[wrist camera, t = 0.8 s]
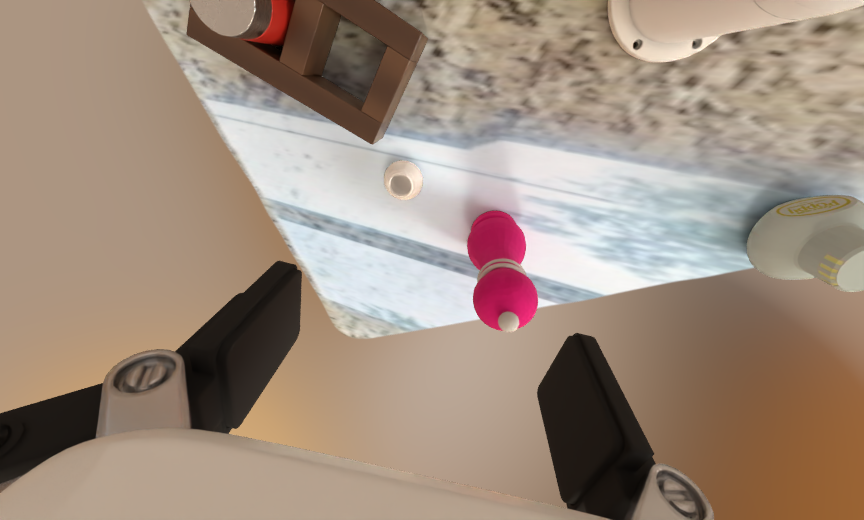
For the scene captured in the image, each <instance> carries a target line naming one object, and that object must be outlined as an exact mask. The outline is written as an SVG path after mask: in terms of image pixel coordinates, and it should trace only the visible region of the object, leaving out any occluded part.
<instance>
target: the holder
mask: <svg viewBox="0 0 864 520" xmlns="http://www.w3.org/2000/svg"><path fill="white" fill-rule="evenodd" d="M190 7H191V8H190V10H189V18H188V26H187V35H188V36H190V37H191V38H193V39H195V40H196V41H198V42H200V43H201V44H203V45H205V46H206V47H208V48H210V49H212V50H213V51H215V52H217V53H218V54H220V55H222V56H223V57H225V58H227V59H228V60H230V61H232V62H233V63H235V64H237V65H239V66H240V67H242V68H244V69H245V70H247V71H249V72H250V73H252V74H254V75H255V76H257V77H259V78H260V79H262V80H264V81H266V82H267V83H269V84H271V85H272V86H274V87H276V88H277V89H279V90H281V91H282V92H284V93H286V94H287V95H289V96H291V97H293V98H294V99H296V100H298V101H299V102H301V103H303V104H304V105H306V106H308V107H309V108H311V109H313V110H314V111H316V112H318V113H319V114H321V115H323V116H325V117H326V118H328V119H330V120H331V121H333V122H335V123H336V124H338V125H340V126H341V127H343V128H345V129H346V130H348V131H350V132H352V133H353V134H355V135H357V136H358V137H360V138H362V139H363V140H365V141H367V142H368V143H370V144H372V145H373V144H374V143H376V142H377V141H379V140H380V139H382V138H383V136H384V134H385V132H386V130H387V128H388V125H389V123H390V121H391V119H392V117H393V115H394V112H395V110H396V108H397V106H398V104H399V101H400V99H401V97H402V95H403V93H404V91H405V88H406V86H407V84H408V82H409V80H410V78H411V75H412V73H413V71H414V69H415V67H416V64H417V62H418V60H419V58H420V56H421V54H422V51H423V49H424V47H425V45H426V43H427V41H428V38H427V37H426V36H425V35H424V34H423V33H422V32H420V31H419V30H417V29H416V28H414V27H413V26H411V25H410V24H408V23H407V22H406V21H404V20H403V19H401V18H400V17H398V16H397V15H395V14H394V13H392V12H391V11H389V10H388V9H386V8H385V7H383V6H382V5H380V4H379V3H377V2H376V1H374V0H295V4H294V8H293V11H292V15H291V19H290V23H289V27H288V30H287V34H286V38H285V42H284V46H283V49H282V51H280V50H278V49H277V48H275V47H273V46H272V45H269V44H264V43H258V42H253V41H247V40H242V39H239V38H234V37H228V36H224V35H221V34H218V33H216V32H214V31H213V30H211V29H210V28H209V27H208V26H206V25H205V24H204V23H203V22H202V21H201V19H200V18H199V17H198V16H197V14H196V13H195V11H194V9H193V7H192V6H191V3H190ZM341 15H342V16H343V17H345V18H346V19H348V20H349V21H351V22H352V23H354V24H356V25H357V26H359V27H360V28H362V29H363V30H365V31H366V32H368V33H369V34H371V35H372V36H374V37H375V38H377V39H378V40H380V41H381V42H383V43H385V44H386V45H388V46H387V48H386V51H385V53H384V55H383V58H382V60H381V63H380V65H379V68H378V70H377V73H376V75H375V78H374V80H373V82H372V85H371V87H370V90H369V92H368V95H367V97H366V100H365V102H363V101H361V100H360V99H358V98H356V97H355V96H353V95H351V94H350V93H348V92H347V91H345V90H343V89H342V88H340V87H338V86H337V85H335V84H334V83H332V82H330V81H329V80H327V79H325V78H324V77H322V73H323V70H324V67H325V64H326V61H327V58H328V54H329V51H330V48H331V45H332V42H333V39H334V36H335V33H336V30H337V27H338V24H339V21H340V18H341Z"/></svg>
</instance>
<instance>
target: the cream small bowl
mask: <svg viewBox="0 0 864 520" xmlns="http://www.w3.org/2000/svg"><path fill="white" fill-rule="evenodd" d="M384 184H385V187H386V189H387V191H388V192H389V193H390V194H391V195H392V196H393V197H395V198H398V199H400V200H408V199H412V198H414V197H415V196H416V195H418V194H419V193H420V190H421V188H422V186H423V177H422V174H421V171H420V170H419V168H418V167H417V166H416V165H415V164H413V163H411V162H409V161H403V160H399V161H396V162H394V163H392V164H391V165H390V166H389V167H388V168H387V169H386V172H385V174H384Z"/></svg>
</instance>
